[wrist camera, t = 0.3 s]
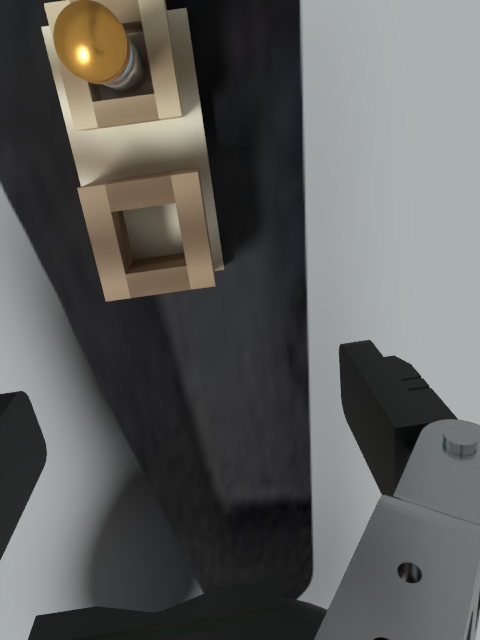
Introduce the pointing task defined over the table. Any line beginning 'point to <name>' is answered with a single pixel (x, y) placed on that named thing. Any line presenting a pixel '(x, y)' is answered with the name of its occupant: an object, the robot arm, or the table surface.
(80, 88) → the dock board
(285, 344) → the table surface
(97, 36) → the lock pin
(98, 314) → the table surface
